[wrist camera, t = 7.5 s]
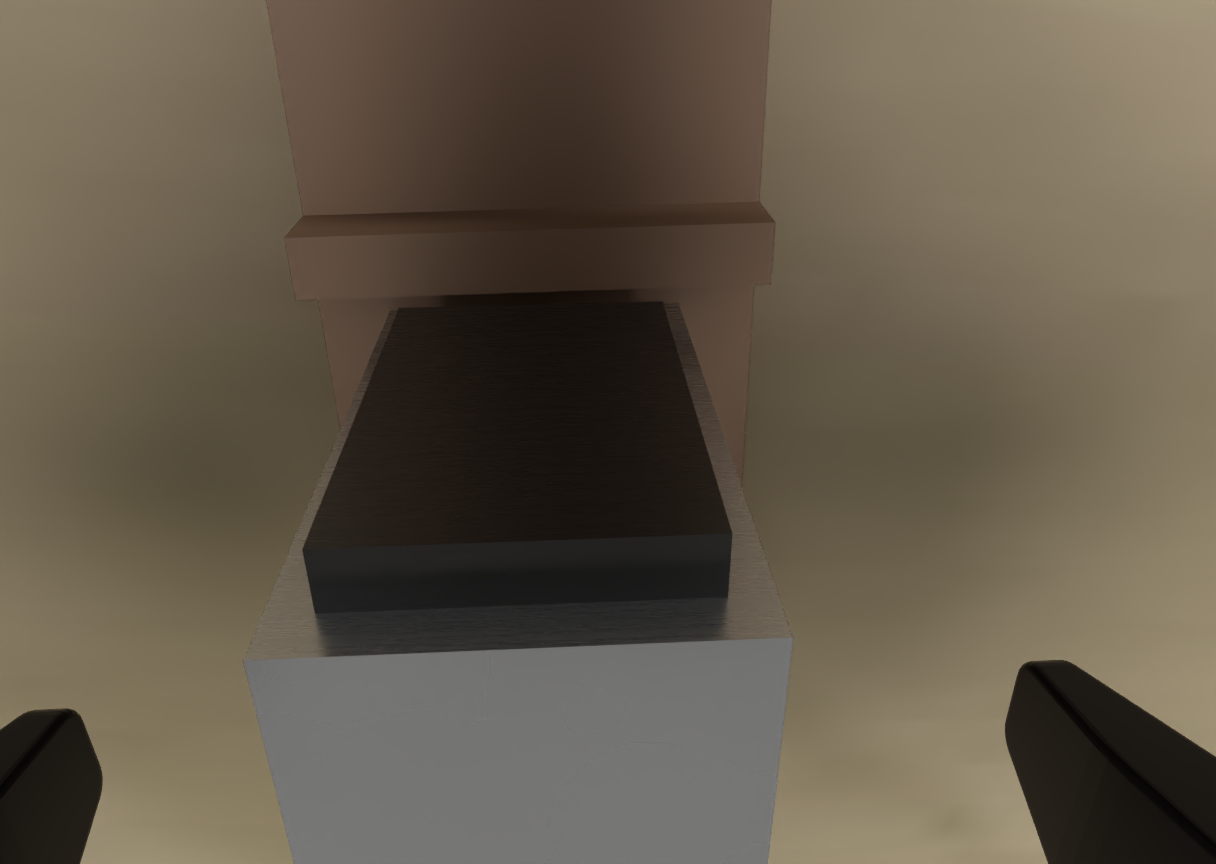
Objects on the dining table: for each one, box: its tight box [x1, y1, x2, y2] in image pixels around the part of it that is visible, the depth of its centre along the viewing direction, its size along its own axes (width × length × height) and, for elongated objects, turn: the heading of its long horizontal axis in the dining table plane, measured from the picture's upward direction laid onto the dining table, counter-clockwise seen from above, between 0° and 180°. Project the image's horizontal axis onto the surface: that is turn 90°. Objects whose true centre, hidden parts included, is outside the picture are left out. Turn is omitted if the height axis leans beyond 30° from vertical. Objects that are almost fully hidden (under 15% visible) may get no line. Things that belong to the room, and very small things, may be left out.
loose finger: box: [243, 301, 793, 864], centre depth 11 cm, size 5×4×7 cm
